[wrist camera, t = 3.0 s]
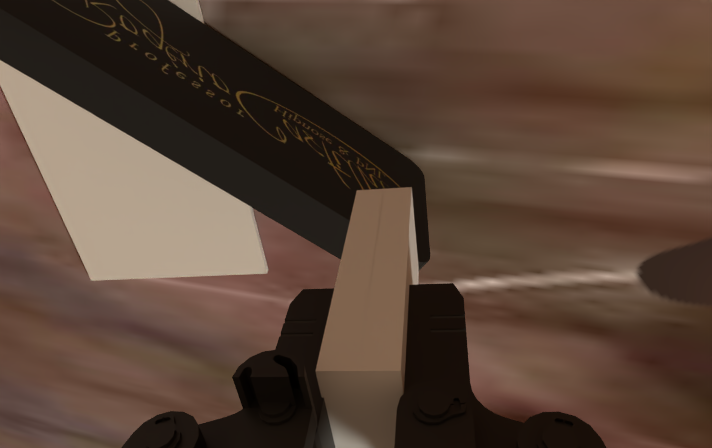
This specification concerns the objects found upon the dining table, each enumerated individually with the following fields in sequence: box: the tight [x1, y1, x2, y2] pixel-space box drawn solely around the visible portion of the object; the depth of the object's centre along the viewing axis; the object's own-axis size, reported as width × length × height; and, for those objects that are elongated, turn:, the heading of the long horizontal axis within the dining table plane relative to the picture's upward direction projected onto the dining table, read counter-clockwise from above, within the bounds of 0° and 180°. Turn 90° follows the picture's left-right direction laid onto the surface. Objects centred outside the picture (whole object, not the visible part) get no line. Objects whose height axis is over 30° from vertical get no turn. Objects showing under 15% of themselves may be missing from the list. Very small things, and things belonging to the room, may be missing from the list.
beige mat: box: [0, 0, 268, 281], centre depth 32 cm, size 13×26×1 cm, turn 7°
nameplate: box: [0, 0, 430, 270], centre depth 27 cm, size 21×2×10 cm, turn 56°
